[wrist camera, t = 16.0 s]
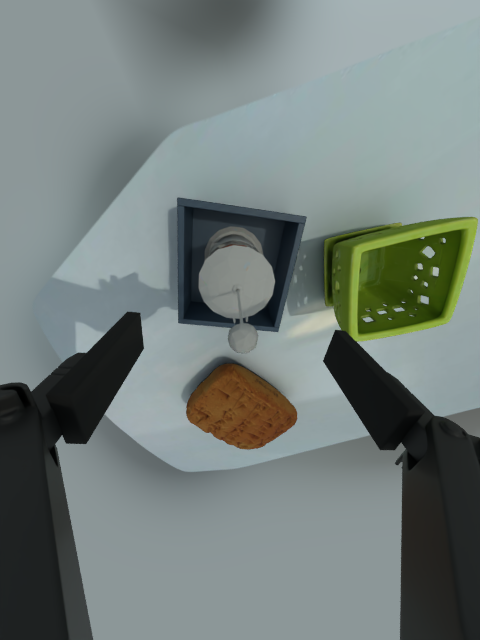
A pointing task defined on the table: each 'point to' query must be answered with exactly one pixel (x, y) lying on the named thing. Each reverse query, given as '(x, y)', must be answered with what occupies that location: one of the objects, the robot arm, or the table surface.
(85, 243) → the table surface
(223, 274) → the french press
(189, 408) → the inscribed clay slab
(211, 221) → the tub
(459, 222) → the flower pot
